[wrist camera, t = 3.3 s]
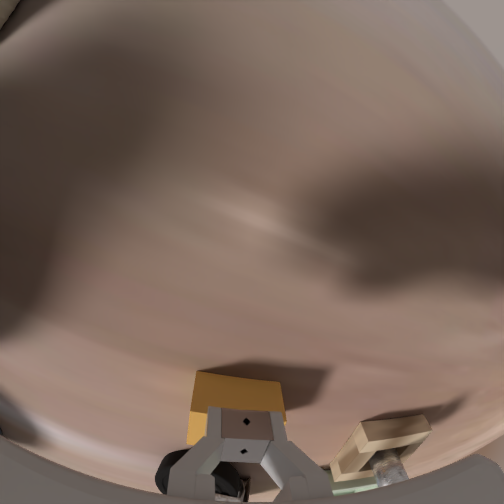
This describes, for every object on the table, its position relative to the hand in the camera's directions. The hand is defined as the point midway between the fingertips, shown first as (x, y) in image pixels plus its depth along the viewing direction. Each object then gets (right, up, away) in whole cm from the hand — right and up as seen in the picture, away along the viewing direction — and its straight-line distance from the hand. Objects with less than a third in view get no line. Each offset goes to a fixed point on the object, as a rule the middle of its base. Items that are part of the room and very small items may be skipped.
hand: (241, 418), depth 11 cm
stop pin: (+13, -13, +13) cm, 23 cm away
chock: (-1, -4, +9) cm, 10 cm away
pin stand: (+13, -13, +13) cm, 23 cm away
